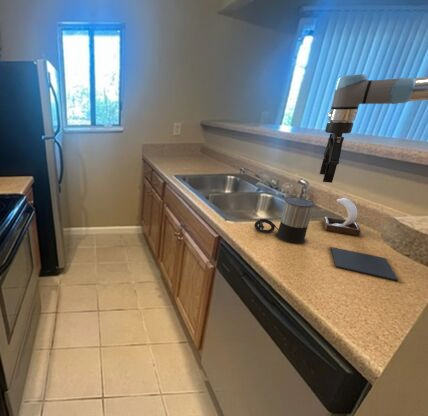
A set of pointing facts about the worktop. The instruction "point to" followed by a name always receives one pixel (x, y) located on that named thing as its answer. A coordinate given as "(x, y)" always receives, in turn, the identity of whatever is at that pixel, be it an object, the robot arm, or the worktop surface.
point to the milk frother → (291, 220)
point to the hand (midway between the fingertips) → (325, 178)
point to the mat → (363, 263)
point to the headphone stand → (351, 212)
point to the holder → (351, 231)
